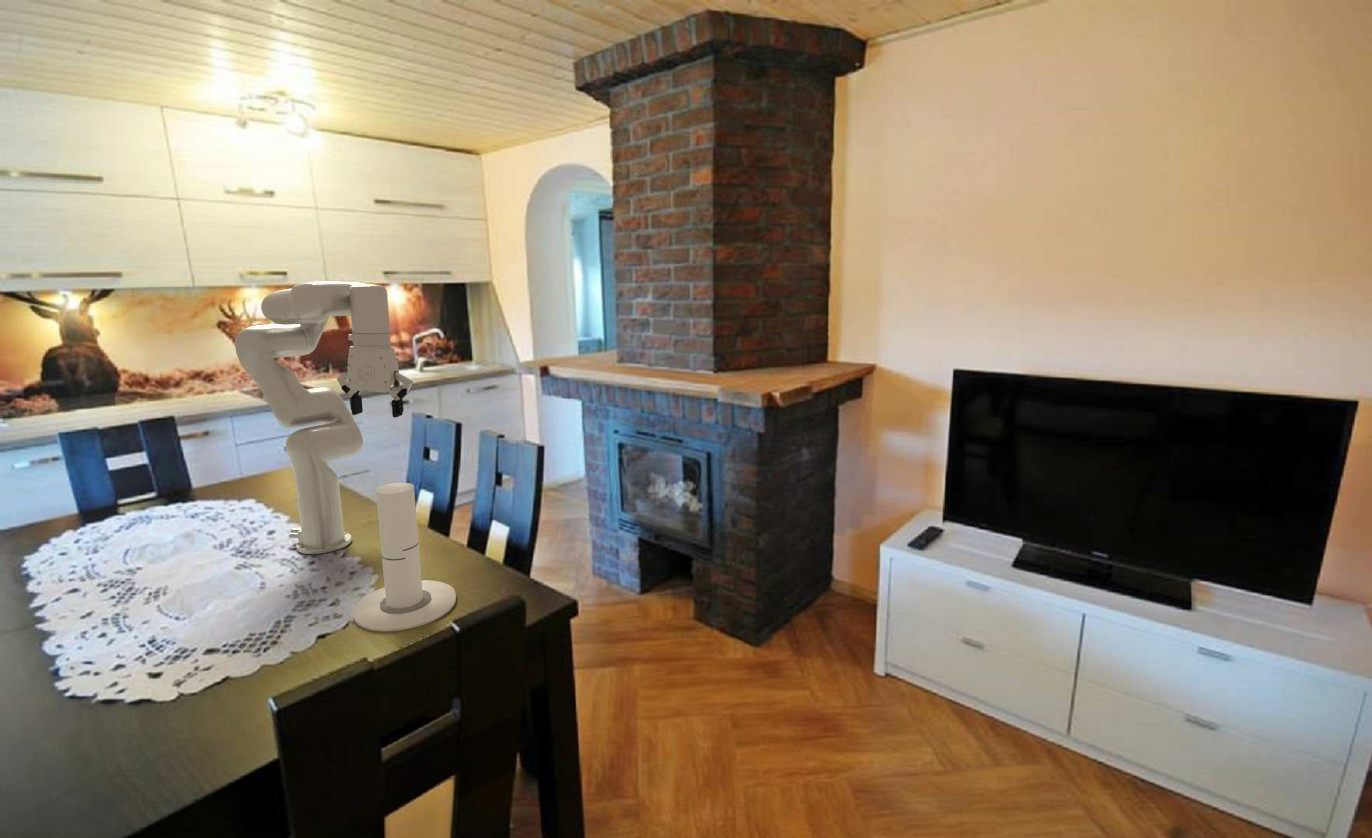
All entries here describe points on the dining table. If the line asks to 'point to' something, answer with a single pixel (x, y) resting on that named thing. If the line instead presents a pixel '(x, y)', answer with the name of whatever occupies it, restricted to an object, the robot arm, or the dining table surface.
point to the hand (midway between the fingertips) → (377, 415)
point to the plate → (404, 609)
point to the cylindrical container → (399, 544)
